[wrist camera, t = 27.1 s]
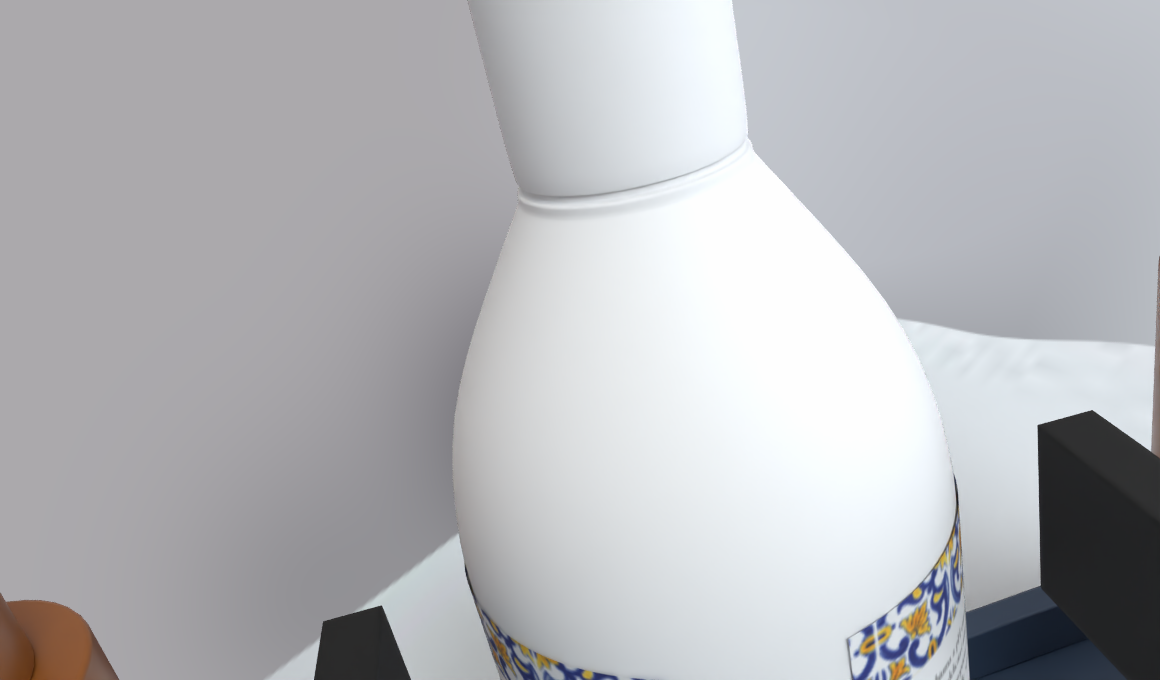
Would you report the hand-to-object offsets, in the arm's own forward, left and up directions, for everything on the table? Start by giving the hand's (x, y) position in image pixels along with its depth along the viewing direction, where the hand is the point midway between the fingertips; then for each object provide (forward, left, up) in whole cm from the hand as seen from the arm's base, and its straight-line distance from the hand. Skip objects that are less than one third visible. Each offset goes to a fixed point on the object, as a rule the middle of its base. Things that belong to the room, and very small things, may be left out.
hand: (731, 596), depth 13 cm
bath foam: (-1, +1, -11) cm, 11 cm away
